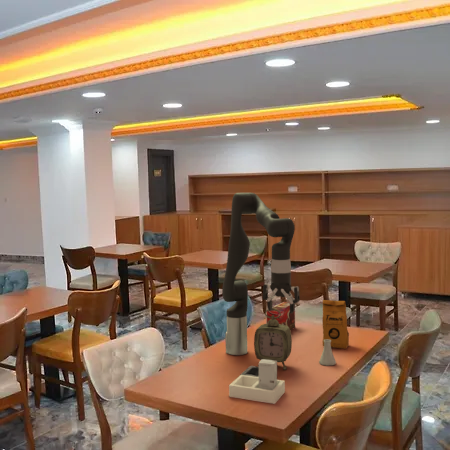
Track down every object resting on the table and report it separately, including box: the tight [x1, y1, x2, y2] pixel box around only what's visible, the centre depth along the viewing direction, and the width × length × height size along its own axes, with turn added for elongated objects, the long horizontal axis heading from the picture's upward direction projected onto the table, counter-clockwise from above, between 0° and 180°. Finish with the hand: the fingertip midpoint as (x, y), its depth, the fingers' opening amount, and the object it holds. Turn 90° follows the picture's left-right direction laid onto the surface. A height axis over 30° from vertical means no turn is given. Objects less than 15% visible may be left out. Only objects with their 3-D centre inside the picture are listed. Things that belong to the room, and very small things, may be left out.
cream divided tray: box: [228, 374, 286, 405], centre depth 196 cm, size 18×11×4 cm, turn 65°
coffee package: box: [321, 299, 350, 350], centre depth 250 cm, size 10×12×22 cm
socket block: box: [239, 365, 259, 377], centre depth 210 cm, size 10×11×4 cm
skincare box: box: [258, 359, 278, 390], centre depth 194 cm, size 6×4×12 cm
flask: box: [318, 339, 337, 367], centre depth 228 cm, size 7×7×10 cm
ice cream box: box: [265, 301, 296, 331], centre depth 277 cm, size 20×6×13 cm, turn 147°
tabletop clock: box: [253, 308, 293, 371], centre depth 224 cm, size 14×9×25 cm, turn 70°
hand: (281, 311), depth 205 cm, fingers open, 8 cm apart
